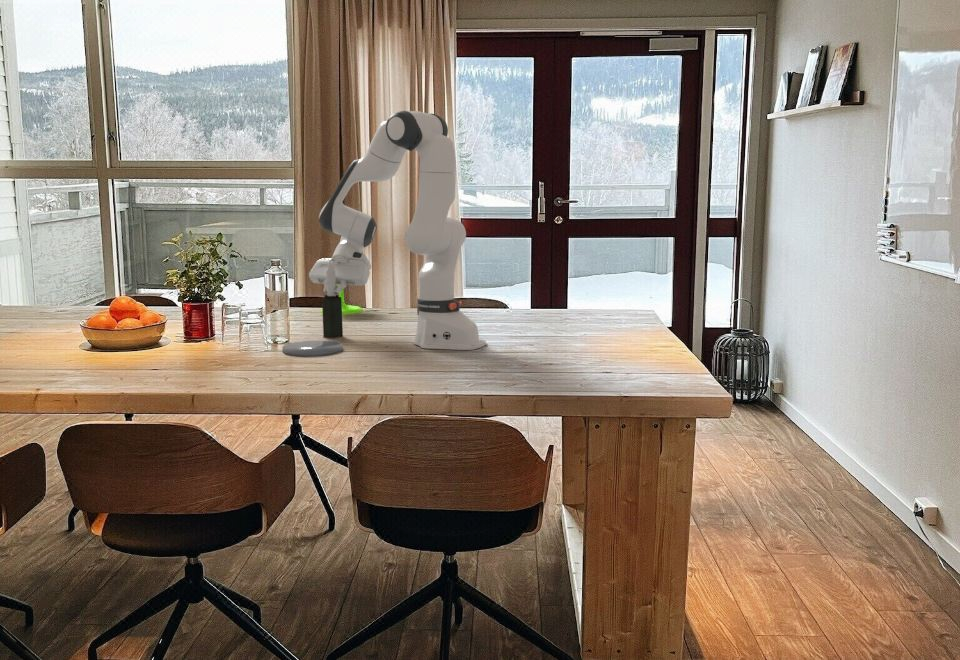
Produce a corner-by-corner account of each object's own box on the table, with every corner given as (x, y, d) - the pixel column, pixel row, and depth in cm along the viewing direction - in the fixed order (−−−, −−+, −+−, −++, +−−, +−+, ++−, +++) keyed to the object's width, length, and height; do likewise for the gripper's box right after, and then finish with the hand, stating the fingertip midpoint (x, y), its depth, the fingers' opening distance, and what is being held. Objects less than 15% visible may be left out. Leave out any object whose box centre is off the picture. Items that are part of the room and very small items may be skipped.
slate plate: (354, 347, 284) (353, 343, 284) (323, 358, 267) (323, 354, 267) (303, 342, 290) (303, 339, 290) (270, 353, 274) (270, 349, 274)
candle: (332, 338, 298) (329, 260, 293) (321, 336, 301) (318, 259, 296) (344, 336, 302) (341, 259, 297) (333, 334, 305) (330, 258, 300)
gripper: (314, 252, 306) (299, 285, 299) (369, 254, 299) (355, 288, 292) (321, 264, 311) (307, 297, 304) (376, 267, 304) (362, 300, 297)
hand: (331, 292), depth 298 cm, fingers closed on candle, 2 cm apart
